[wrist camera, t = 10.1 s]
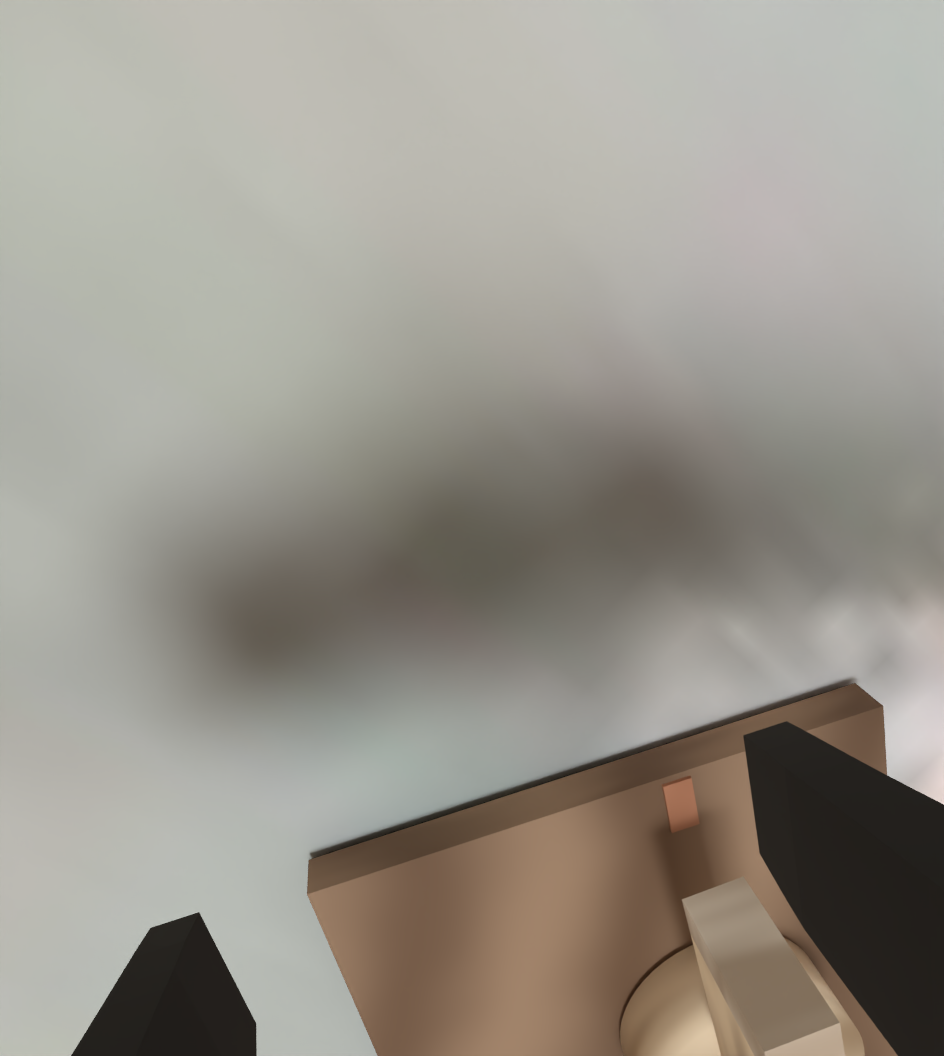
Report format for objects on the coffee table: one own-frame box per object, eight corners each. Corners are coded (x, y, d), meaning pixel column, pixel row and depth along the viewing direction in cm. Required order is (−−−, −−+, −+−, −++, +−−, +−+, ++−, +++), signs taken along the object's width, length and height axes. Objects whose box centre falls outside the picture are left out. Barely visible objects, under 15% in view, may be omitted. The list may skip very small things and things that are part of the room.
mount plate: (855, 683, 22) (885, 707, 21) (881, 1054, 28) (906, 1090, 26) (308, 859, 21) (307, 897, 19) (457, 1207, 26) (462, 1253, 25)
